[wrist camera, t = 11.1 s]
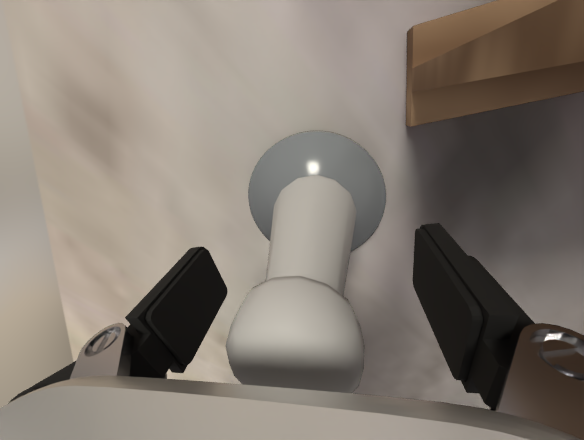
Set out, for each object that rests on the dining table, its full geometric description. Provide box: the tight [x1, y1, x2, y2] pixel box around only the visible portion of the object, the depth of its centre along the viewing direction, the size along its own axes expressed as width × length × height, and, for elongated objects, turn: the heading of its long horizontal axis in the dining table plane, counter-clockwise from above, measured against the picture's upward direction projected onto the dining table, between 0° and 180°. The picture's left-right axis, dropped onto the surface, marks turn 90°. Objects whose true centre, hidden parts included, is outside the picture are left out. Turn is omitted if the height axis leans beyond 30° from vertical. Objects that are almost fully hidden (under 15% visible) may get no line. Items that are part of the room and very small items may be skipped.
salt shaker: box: [226, 175, 364, 393], centre depth 12 cm, size 6×6×13 cm
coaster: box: [248, 131, 386, 251], centre depth 18 cm, size 11×11×1 cm
